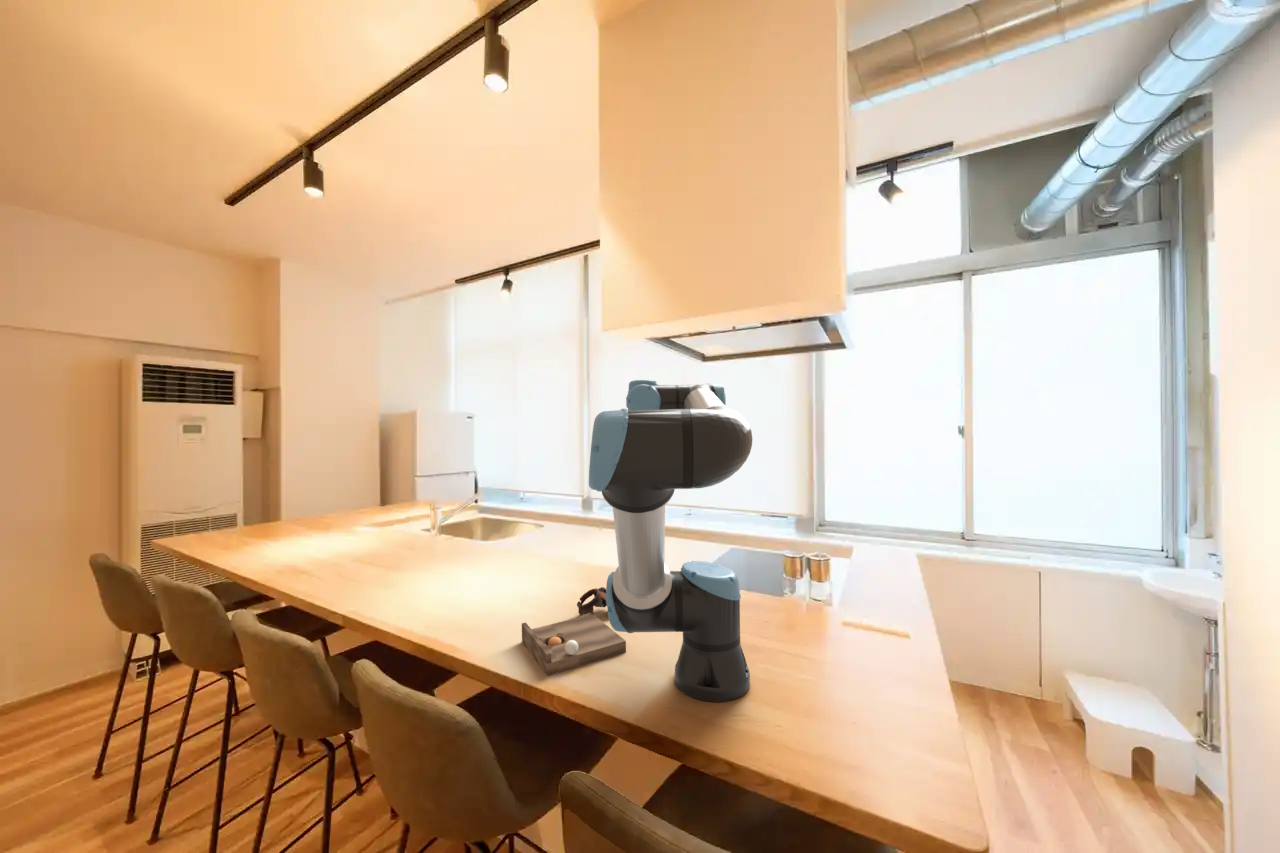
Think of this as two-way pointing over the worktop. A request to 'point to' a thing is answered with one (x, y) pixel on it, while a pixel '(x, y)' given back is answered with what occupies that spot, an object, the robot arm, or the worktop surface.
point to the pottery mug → (597, 601)
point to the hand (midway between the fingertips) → (645, 536)
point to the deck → (584, 630)
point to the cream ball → (571, 647)
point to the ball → (554, 641)
